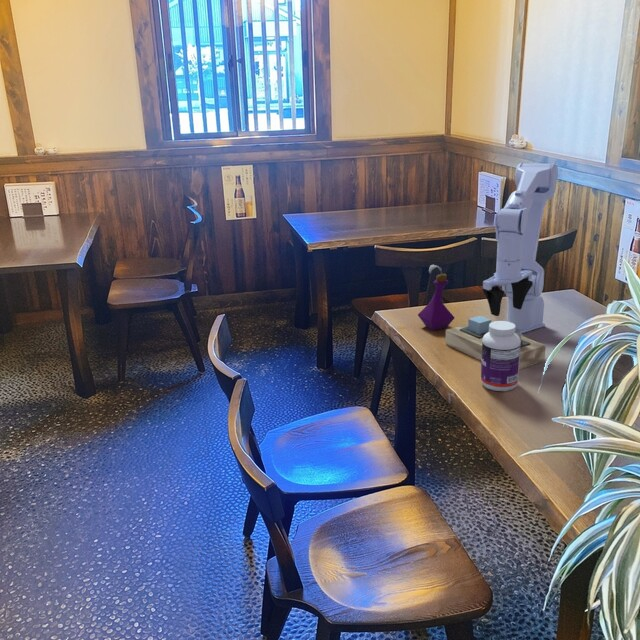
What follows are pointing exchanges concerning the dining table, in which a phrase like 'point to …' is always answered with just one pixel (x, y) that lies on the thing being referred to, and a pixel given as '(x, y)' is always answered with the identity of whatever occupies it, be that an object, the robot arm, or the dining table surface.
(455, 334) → the socket block
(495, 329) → the pill bottle
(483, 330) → the peg blue
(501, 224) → the robot arm
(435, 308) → the perfume bottle
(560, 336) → the dining table surface
